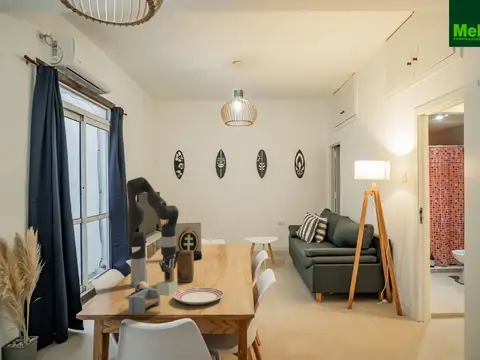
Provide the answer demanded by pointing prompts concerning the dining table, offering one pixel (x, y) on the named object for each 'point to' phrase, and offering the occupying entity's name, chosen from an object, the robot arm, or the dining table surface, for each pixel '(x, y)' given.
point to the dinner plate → (198, 295)
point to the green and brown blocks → (167, 284)
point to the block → (185, 266)
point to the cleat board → (143, 300)
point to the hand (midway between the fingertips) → (168, 278)
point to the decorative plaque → (188, 238)
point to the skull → (140, 287)
